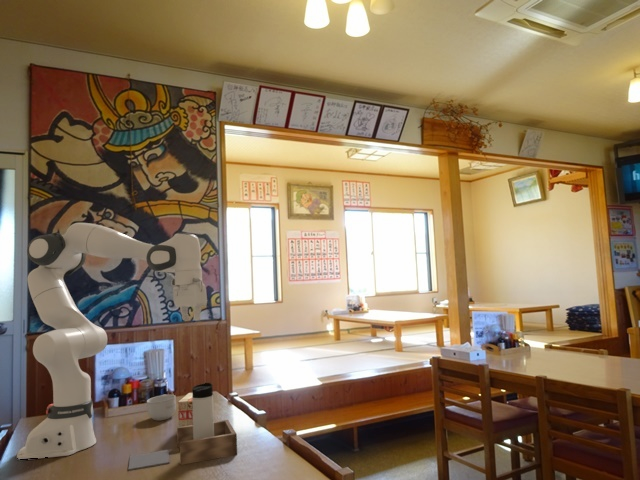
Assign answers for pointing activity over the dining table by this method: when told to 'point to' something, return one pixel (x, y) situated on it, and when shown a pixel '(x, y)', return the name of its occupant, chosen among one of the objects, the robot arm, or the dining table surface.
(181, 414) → the stack of blocks
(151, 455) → the grey square plate
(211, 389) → the travel mug
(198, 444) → the walnut box
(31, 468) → the dining table surface
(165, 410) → the teacup
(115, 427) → the dining table surface
